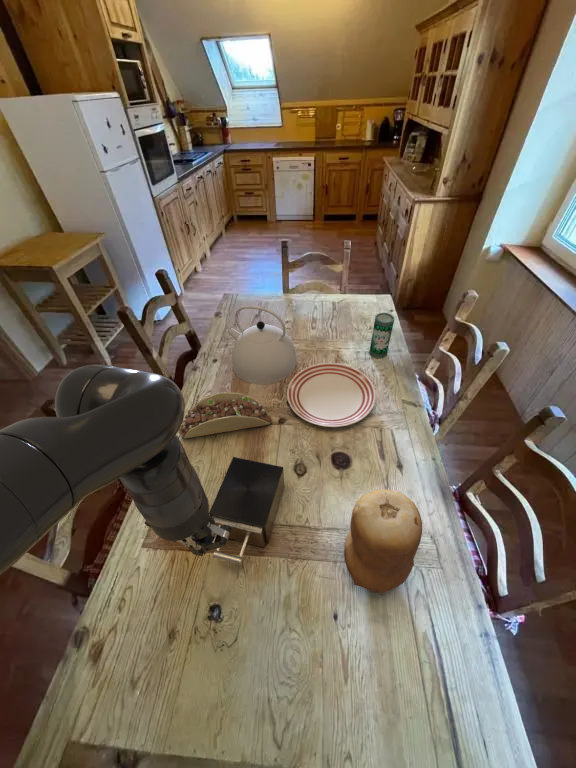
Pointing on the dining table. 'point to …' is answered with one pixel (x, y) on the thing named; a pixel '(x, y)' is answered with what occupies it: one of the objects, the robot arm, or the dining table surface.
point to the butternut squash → (382, 540)
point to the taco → (223, 415)
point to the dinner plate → (331, 395)
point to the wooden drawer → (239, 538)
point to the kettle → (262, 352)
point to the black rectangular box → (250, 494)
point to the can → (381, 335)
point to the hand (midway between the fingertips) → (200, 549)
